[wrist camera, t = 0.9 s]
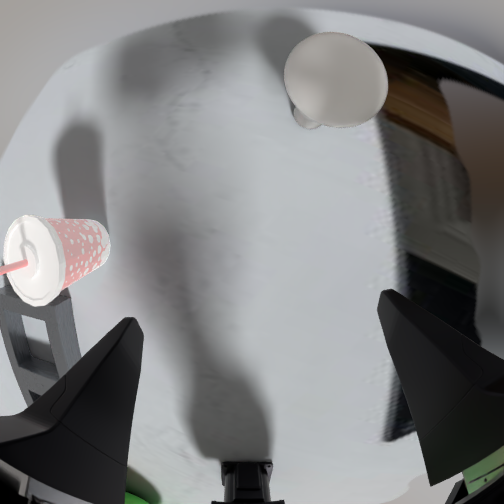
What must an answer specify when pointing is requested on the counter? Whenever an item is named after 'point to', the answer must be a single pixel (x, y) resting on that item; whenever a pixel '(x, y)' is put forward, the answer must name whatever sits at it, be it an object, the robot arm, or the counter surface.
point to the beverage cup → (51, 255)
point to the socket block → (23, 364)
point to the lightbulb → (334, 81)
